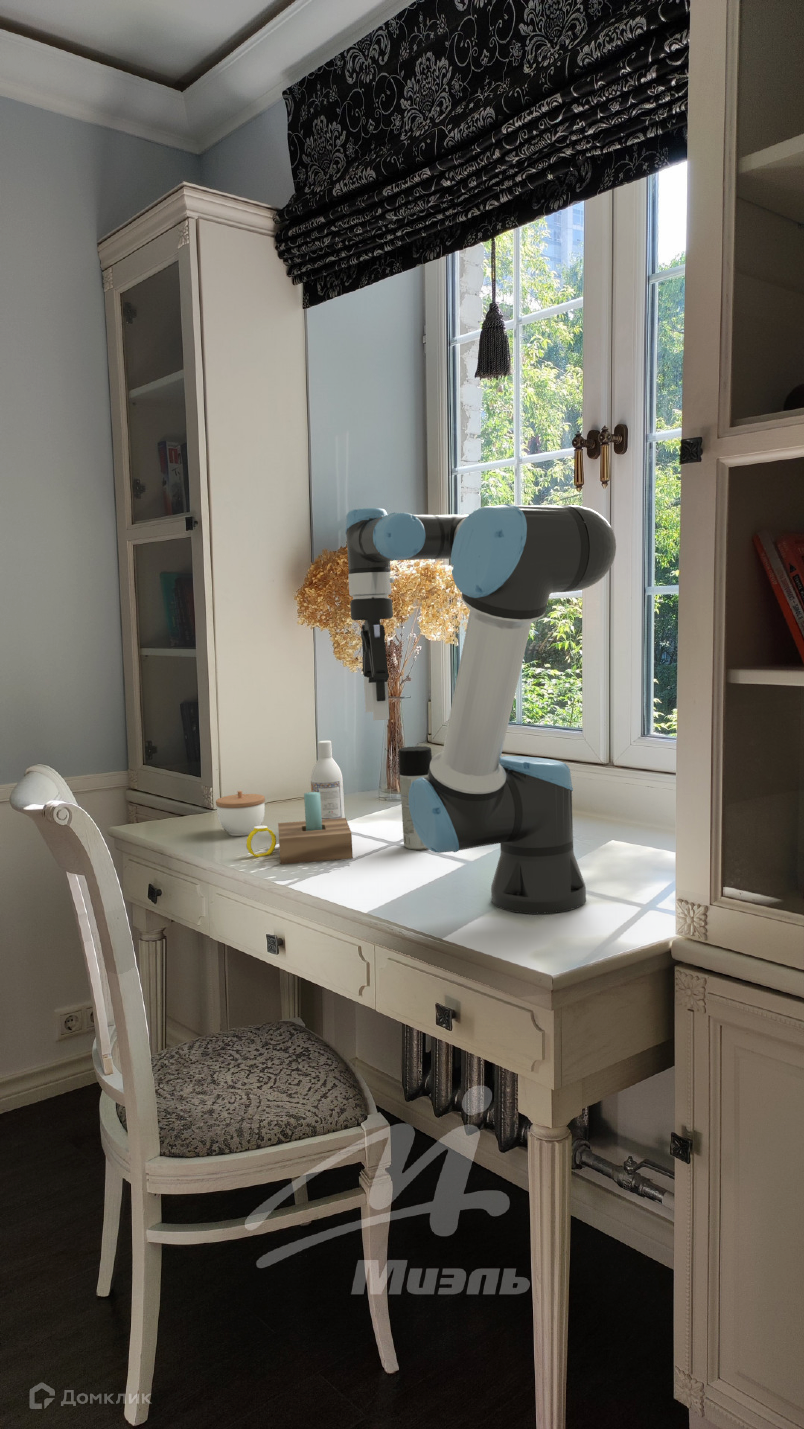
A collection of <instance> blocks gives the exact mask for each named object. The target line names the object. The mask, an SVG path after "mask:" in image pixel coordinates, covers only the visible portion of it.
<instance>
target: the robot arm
mask: <svg viewBox="0 0 804 1429" xmlns="http://www.w3.org/2000/svg"><path fill="white" fill-rule="evenodd" d="M345 517H346V518H345V535H346V548H347V552H346V553H347V565H348V574H347V575H348V576H347V577H348V592H349V596H350V597H352V599H351V600H350V602H349V603H350V606H349V608H350V618H351V620H352V621H364V624H362V625H361V626H360V627H361V630H360V637H361V647H362V669H361V671H362V673H363V674H362V675H363V683H364V684H363V686H364V687H363V688H364V702H365V704H364V705H365V708H364V709H365V713H372V717H373V721H385V720H390V703H389V687H388V686H389V685H388V681H389V678H390V674H389V668H388V658H387V650H386V639H385V638H386V631H385V626H384V624H381V620H389V619H390V620H391V619H392V618H393V617H394V611H393V609H394V608H393V599H392V598H391V597H389V596H390V595H391V594H392V584H394V583H395V578H394V577H391V572H392V571H391V562H392V561H412V560H413V561H415V560H417V561H419V560H438V559H439V560H442V559H443V560H450V564H451V566H453V568H452V569H451V575H452V579H453V581H454V584H455V586H456V588H457V589H458V590H459V591H460V592H461V600H462V602H463V603H464V605H465V606H466V608H468V610H469V614H468V619H467V624H466V629H465V634H464V635H465V636H464V639H463V645H462V650H461V656H460V660H459V664H458V665H459V666H458V671H457V676H456V682H455V686H454V692H453V696H452V701H451V705H450V712H449V718H448V722H447V723H448V724H447V728H446V732H445V737H444V742H443V743H444V744H443V748H442V751H440V752H437V753H436V754H435V755H434V756H433V757H432V760H431V762H430V767H429V772H428V776H427V777H426V778H423V777H420V778H419V779H416V780H415V781H413V782H412V784H411V786H410V789H409V809H410V814H411V818H412V821H413V825H414V828H415V830H416V832H417V835H418V836H419V838H420V840H421V841H422V843H423V844H424V845H425V846H426V847H427V848H428V849H427V850H429V851H431V852H434V853H438V854H441V853H451V852H453V853H457V852H459V851H463V850H468V849H469V850H470V849H474V848H479V847H480V848H481V847H486V846H492V845H498V844H499V846H500V855H499V858H498V862H497V864H496V868H495V871H494V872H495V873H494V875H493V876H494V877H493V879H492V883H491V888H490V890H491V891H490V893H491V894H490V895H491V896H490V897H491V902H492V904H493V905H495V906H496V907H498V908H500V909H502V910H506V911H508V912H509V911H510V912H515V913H522V914H534V915H535V914H537V915H539V914H555V913H561V912H566V911H571V910H574V909H577V908H579V907H581V906H583V905H584V904H585V903H586V900H587V891H586V890H587V888H586V883H585V880H584V878H583V876H582V872H581V869H580V867H579V864H578V861H577V858H576V856H575V852H574V851H575V850H574V824H573V823H574V822H573V816H574V815H573V794H572V792H573V791H574V788H573V782H572V776H571V774H572V772H571V770H570V767H569V766H568V765H567V764H566V763H564V762H563V761H561V760H560V761H559V760H556V759H550V758H543V757H533V756H532V757H530V756H515V755H514V756H513V755H511V756H507V755H506V756H505V755H504V756H502V753H503V749H504V743H505V739H506V736H507V731H508V727H509V722H510V718H511V714H512V709H513V704H514V701H515V696H516V693H517V687H518V685H519V684H518V683H519V678H520V673H521V670H522V665H523V660H524V657H525V653H526V649H527V648H526V647H527V644H528V639H529V634H530V630H531V627H532V623H534V622H536V621H538V620H539V619H541V618H543V616H545V614H546V612H547V607H548V603H549V598H550V595H551V594H556V593H557V594H558V593H568V592H577V591H581V590H585V589H588V588H589V587H592V586H594V585H595V584H597V583H598V582H599V581H601V580H602V579H603V578H604V577H605V576H606V575H607V573H608V572H609V571H610V569H611V568H612V566H613V564H614V561H615V557H616V552H617V543H616V536H615V533H614V530H613V528H612V526H611V524H610V523H609V522H608V520H607V519H606V518H605V517H603V515H601V514H600V513H598V512H597V511H595V510H593V509H592V508H588V507H585V506H580V505H571V504H569V505H568V504H564V505H542V504H541V505H540V504H539V505H537V504H536V505H535V504H533V505H531V504H530V505H524V504H522V505H520V504H516V505H515V504H512V503H503V504H499V505H491V506H490V505H489V506H481V507H479V508H476V509H475V510H473V512H471V513H466V514H412V513H409V512H391V513H389V514H388V512H387V511H386V510H385V509H384V508H382V507H381V508H379V507H366V508H358V509H352V510H349V511H348V512H347V514H346V516H345Z"/></svg>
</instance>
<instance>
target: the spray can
mask: <svg viewBox="0 0 804 1429" xmlns="http://www.w3.org/2000/svg"><path fill="white" fill-rule="evenodd" d="M432 756H433V755H432V748H431V747H430V746H427V745H426V746H418V745H417V746H416V745H415V746H404V747H402V748H400V749H399V750H398V764H399V765H398V766H399V770H398V771H399V784H400V802H401V803H400V804H401V819H402V834H403V836H402V837H403V846H404V848H406V849H407V850H413V851H415V850H416V851H418V850H419V851H421V850H423V851H424V850H429V849H428V848H427V847H426V846H425V845H424V844H423V843H422V841H421V840H420V838H419V836H418V835H417V832H416V830H415V828H414V825H413V821H412V818H411V814H410V809H409V789H410V786H411V784H412V782H413V781H415V780H416V779H419V778H420V777H423V778H426V777H427V776H428V772H429V767H430V762H431V760H432V758H433V757H432Z"/></svg>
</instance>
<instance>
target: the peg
mask: <svg viewBox="0 0 804 1429" xmlns="http://www.w3.org/2000/svg"><path fill="white" fill-rule="evenodd" d="M303 799H304V816H305V817H304V818H305V820H304V821H306V831H313V830H322V818H321V799H320V793H319V792H311V791H308V792H304V794H303Z"/></svg>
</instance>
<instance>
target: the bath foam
mask: <svg viewBox="0 0 804 1429" xmlns="http://www.w3.org/2000/svg"><path fill="white" fill-rule="evenodd" d="M332 748H333V746H332V741H331V740H320V741H318V742H317V752H318V759H317V761H316V763H315V764H314V767H313V769H312V771H311V775H310V789H311V791H310V792H319V793H320V799H321V818H322V820H325V819H338V818H346V814H345V810H346V809H345V794H344V778H343V773H342V771H341V770H342V769H341V768H340V766H339V765H338V764H337V762H336V761H335V759H334V758H333V750H332Z"/></svg>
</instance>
